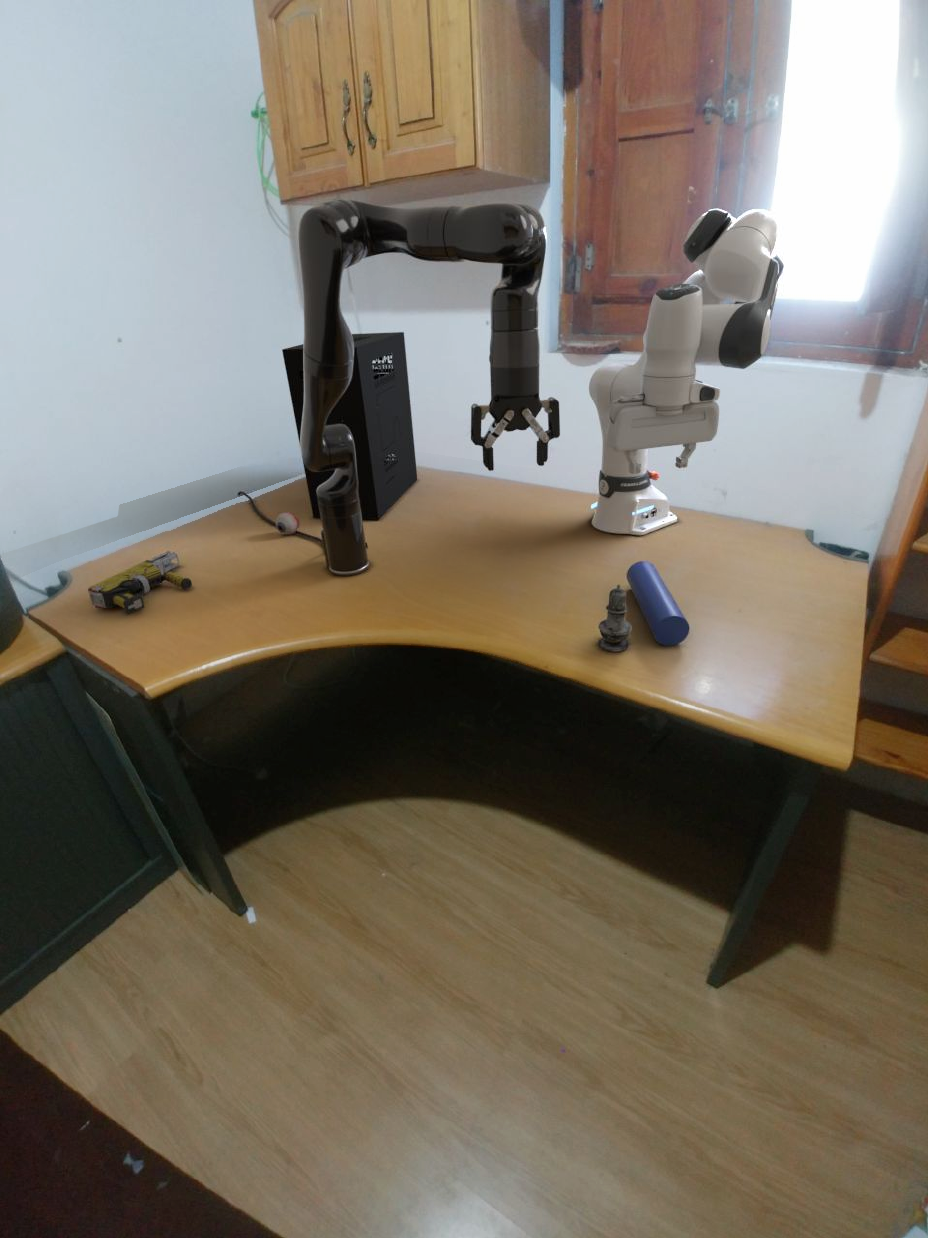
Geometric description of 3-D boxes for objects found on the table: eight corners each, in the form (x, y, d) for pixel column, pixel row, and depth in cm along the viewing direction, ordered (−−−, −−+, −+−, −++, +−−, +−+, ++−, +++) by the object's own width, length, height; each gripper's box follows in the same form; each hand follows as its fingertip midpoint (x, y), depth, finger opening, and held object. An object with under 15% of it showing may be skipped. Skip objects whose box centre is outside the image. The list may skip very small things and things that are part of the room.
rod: (625, 588, 128) (627, 561, 125) (654, 586, 128) (657, 560, 125) (652, 646, 108) (655, 616, 105) (687, 645, 108) (691, 615, 105)
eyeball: (273, 537, 164) (268, 516, 161) (287, 528, 169) (282, 508, 166) (291, 539, 161) (286, 518, 158) (305, 530, 166) (301, 510, 163)
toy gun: (215, 559, 144) (165, 548, 148) (137, 602, 124) (81, 588, 128) (218, 577, 147) (168, 566, 151) (142, 621, 127) (87, 607, 131)
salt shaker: (630, 653, 106) (637, 593, 100) (596, 651, 107) (601, 591, 101) (629, 636, 111) (635, 577, 105) (597, 634, 112) (601, 576, 106)
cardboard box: (378, 519, 171) (356, 347, 149) (313, 517, 176) (282, 349, 153) (417, 479, 203) (403, 331, 180) (361, 478, 207) (341, 334, 185)
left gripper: (473, 368, 88) (477, 477, 96) (567, 361, 90) (563, 469, 98) (464, 362, 94) (469, 465, 102) (552, 355, 96) (550, 457, 104)
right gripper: (619, 400, 100) (613, 481, 107) (729, 388, 104) (716, 468, 111) (603, 394, 106) (598, 471, 113) (708, 383, 109) (697, 459, 116)
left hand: (515, 467), depth 100 cm, fingers open, 8 cm apart
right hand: (657, 469), depth 112 cm, fingers open, 8 cm apart
